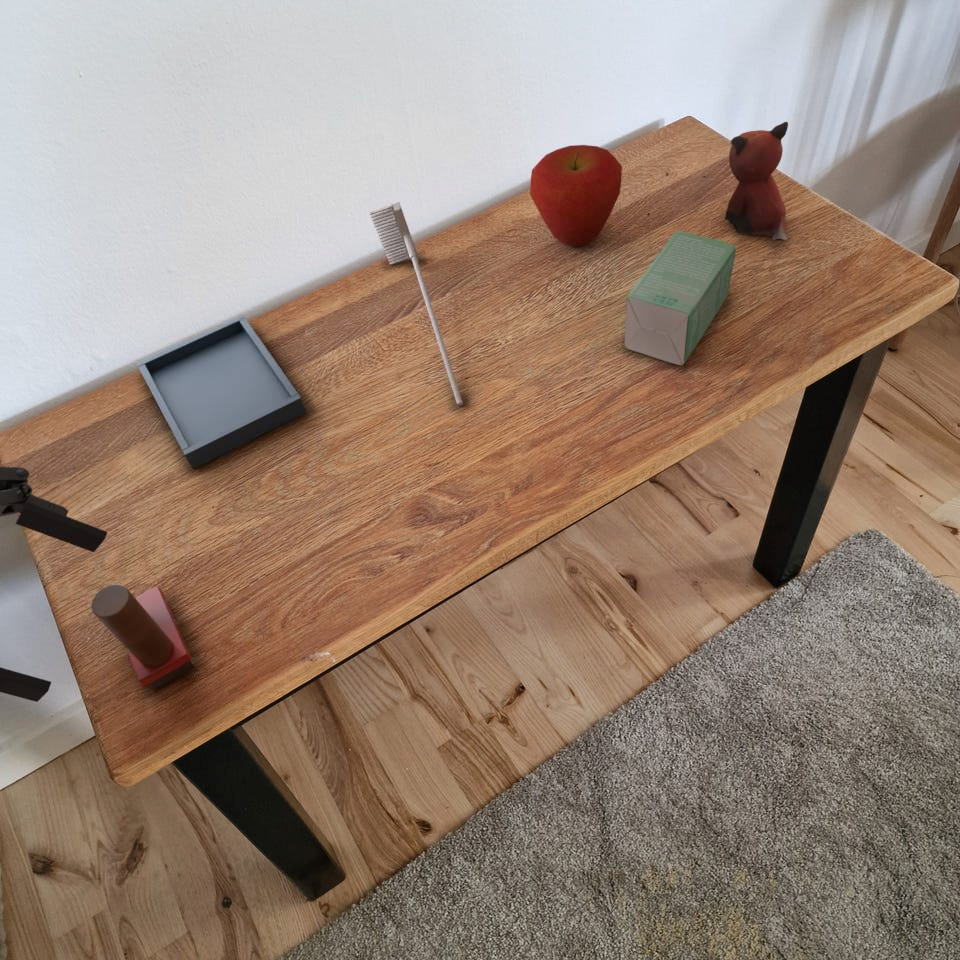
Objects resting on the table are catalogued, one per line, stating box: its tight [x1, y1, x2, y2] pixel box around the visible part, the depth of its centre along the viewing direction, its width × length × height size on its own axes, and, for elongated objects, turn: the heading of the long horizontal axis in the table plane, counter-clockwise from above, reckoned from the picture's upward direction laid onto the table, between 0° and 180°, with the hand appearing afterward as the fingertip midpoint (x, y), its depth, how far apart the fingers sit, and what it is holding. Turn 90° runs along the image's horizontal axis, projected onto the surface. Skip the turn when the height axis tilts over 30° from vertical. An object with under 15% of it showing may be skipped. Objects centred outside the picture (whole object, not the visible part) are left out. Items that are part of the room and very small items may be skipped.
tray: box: [136, 314, 307, 469], centre depth 94 cm, size 18×14×2 cm
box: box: [623, 231, 737, 366], centre depth 92 cm, size 7×14×8 cm, turn 149°
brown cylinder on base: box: [91, 583, 196, 692], centre depth 71 cm, size 8×4×12 cm, turn 32°
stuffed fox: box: [724, 121, 789, 242], centre depth 99 cm, size 8×11×12 cm
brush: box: [369, 201, 464, 407], centre depth 96 cm, size 4×28×9 cm, turn 13°
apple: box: [529, 144, 623, 248], centre depth 102 cm, size 11×11×12 cm
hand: (74, 612), depth 67 cm, fingers open, 13 cm apart
